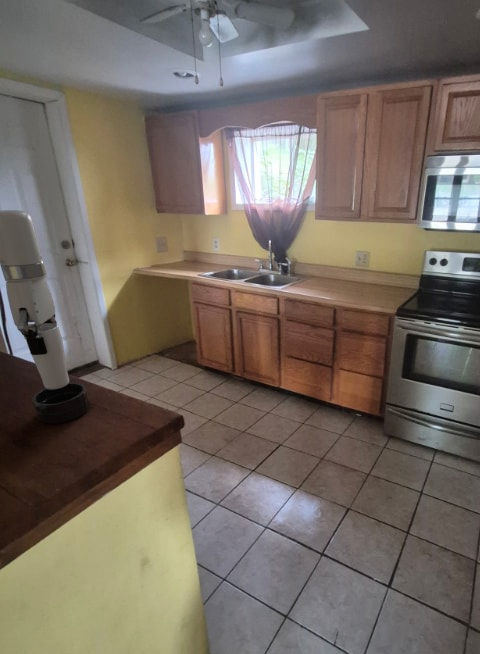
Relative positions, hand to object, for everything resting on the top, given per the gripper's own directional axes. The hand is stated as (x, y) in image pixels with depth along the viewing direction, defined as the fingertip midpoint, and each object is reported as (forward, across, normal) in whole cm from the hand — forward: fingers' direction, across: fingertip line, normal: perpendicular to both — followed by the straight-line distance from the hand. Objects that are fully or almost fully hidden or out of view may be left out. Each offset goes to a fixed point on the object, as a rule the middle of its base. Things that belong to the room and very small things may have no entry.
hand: (46, 347), depth 87 cm
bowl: (+18, 0, 0) cm, 18 cm away
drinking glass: (+10, 0, 0) cm, 10 cm away
